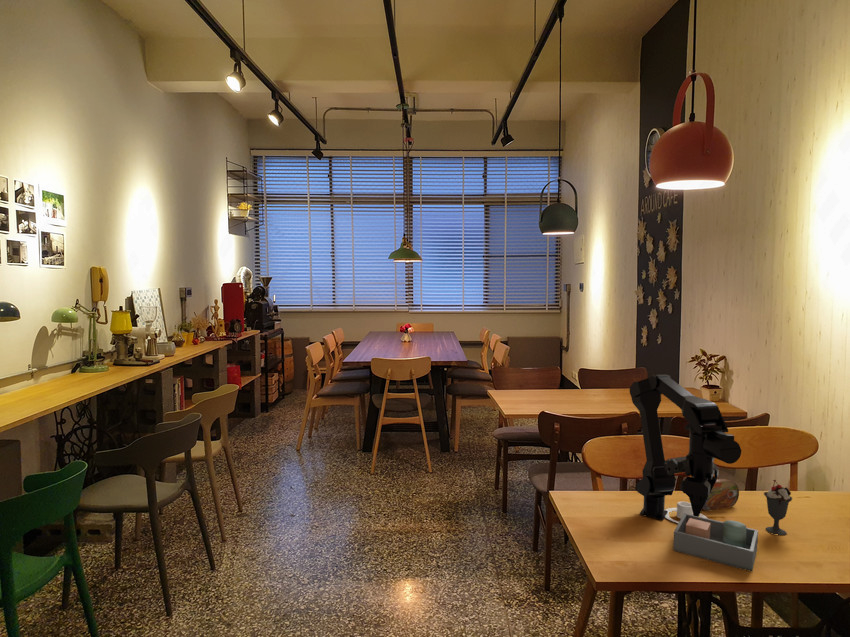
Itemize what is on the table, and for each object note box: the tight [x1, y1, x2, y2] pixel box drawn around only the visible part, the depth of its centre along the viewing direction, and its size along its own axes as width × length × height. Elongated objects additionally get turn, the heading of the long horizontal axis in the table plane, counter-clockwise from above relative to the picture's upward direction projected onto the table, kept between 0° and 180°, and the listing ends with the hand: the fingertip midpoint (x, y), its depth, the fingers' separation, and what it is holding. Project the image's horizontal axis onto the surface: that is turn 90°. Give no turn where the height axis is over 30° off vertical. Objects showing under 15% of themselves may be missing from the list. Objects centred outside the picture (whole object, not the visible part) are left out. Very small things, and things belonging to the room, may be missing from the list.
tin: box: [702, 478, 740, 512], centre depth 165 cm, size 15×3×8 cm, turn 105°
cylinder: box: [723, 520, 747, 548], centre depth 137 cm, size 5×5×7 cm
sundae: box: [763, 479, 793, 536], centre depth 149 cm, size 7×7×15 cm
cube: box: [686, 518, 711, 539], centre depth 142 cm, size 5×5×5 cm
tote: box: [672, 513, 759, 572], centre depth 139 cm, size 13×17×5 cm
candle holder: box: [664, 501, 709, 524], centre depth 158 cm, size 12×12×4 cm
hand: (699, 509), depth 141 cm, fingers open, 9 cm apart
